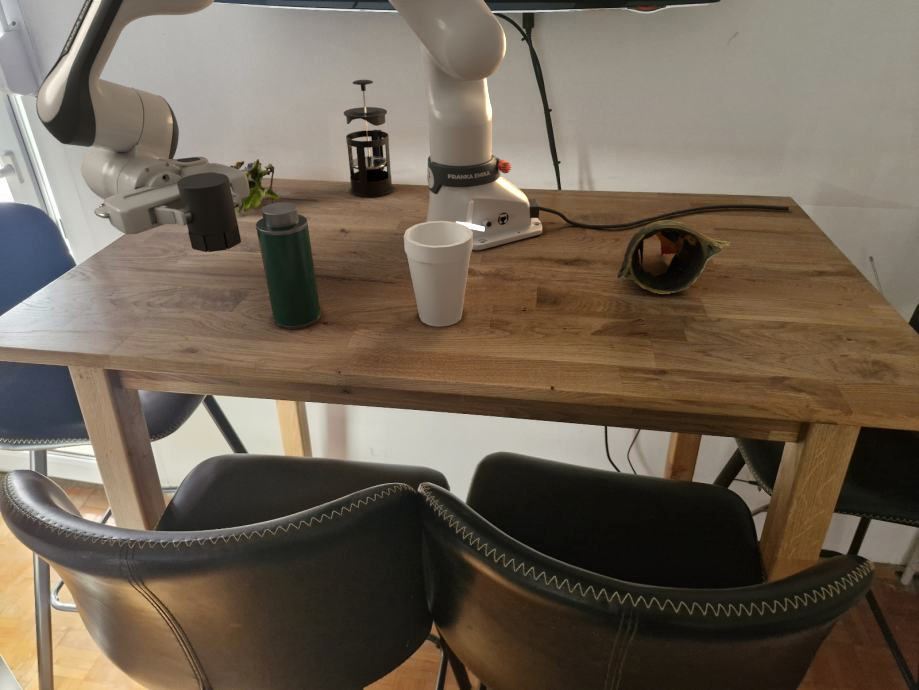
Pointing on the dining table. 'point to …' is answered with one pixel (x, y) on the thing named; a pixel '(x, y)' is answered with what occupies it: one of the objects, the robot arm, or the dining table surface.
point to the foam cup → (439, 269)
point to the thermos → (288, 266)
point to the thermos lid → (210, 211)
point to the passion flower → (256, 185)
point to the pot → (674, 240)
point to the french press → (369, 168)
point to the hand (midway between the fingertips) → (213, 210)
